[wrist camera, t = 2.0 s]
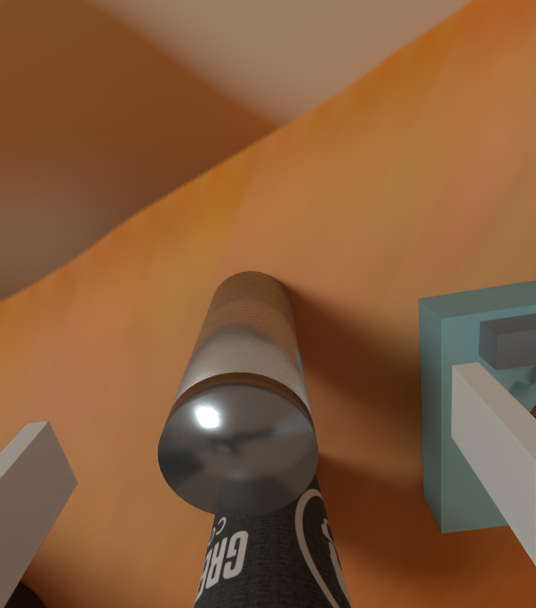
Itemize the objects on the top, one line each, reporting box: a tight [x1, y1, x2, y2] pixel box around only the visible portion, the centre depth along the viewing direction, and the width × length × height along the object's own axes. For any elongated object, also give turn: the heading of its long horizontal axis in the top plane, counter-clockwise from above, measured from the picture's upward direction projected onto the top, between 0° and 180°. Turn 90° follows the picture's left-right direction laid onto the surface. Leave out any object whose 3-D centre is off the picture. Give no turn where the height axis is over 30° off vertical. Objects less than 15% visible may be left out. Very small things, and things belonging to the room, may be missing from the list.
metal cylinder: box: [158, 271, 319, 517], centre depth 17 cm, size 5×5×12 cm
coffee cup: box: [194, 473, 352, 608], centre depth 20 cm, size 10×10×15 cm
